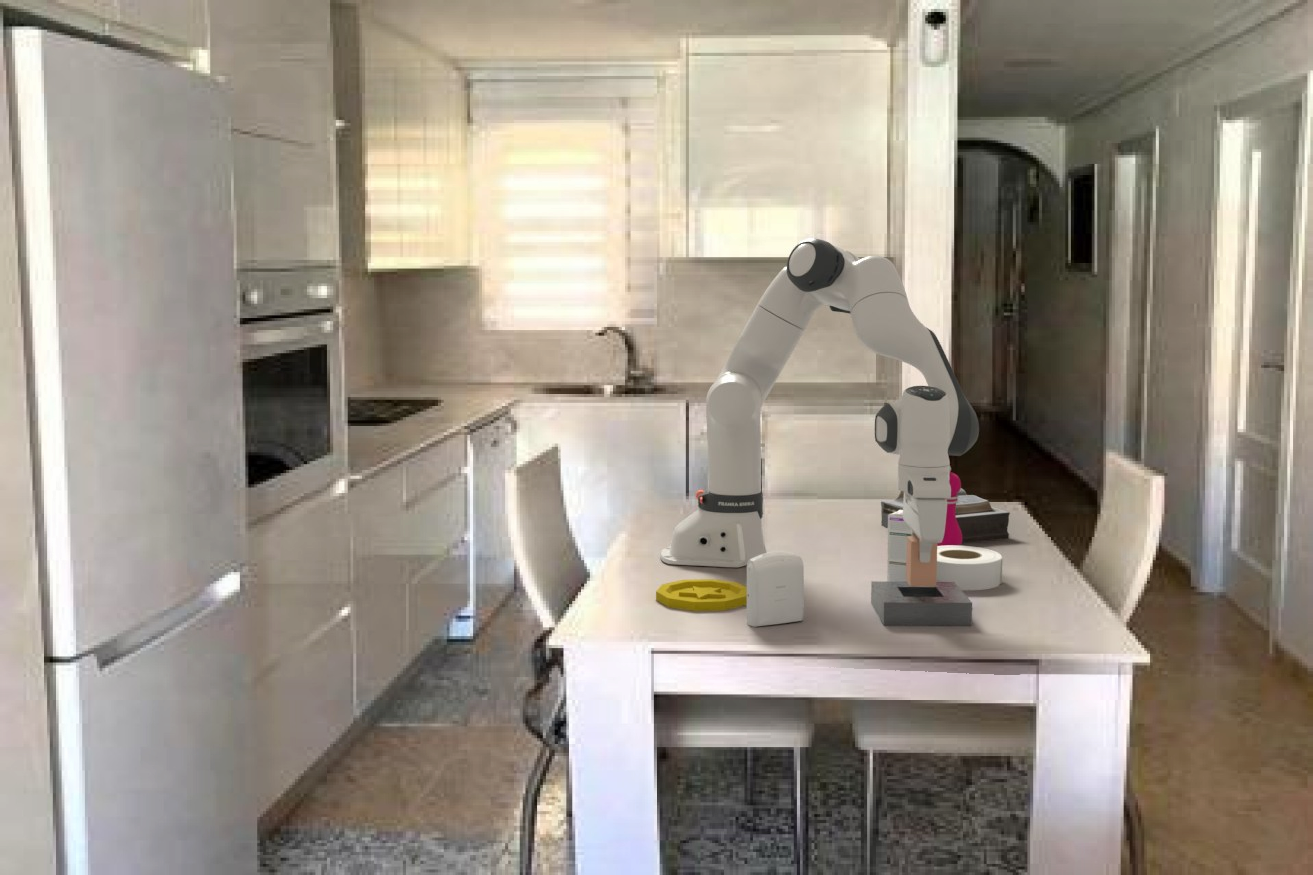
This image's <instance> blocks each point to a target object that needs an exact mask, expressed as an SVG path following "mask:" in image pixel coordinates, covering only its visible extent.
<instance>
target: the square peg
mask: <svg viewBox="0 0 1313 875" xmlns="http://www.w3.org/2000/svg"><path fill="white" fill-rule="evenodd" d="M919 550H920V543H919V538H918V537H917V536H907V557H906V581H907V582H908V584H909V585H910V586H936V575H937V543H933V545H932V549H931V553H930V562H928V563H922V562H920V560H919Z"/></svg>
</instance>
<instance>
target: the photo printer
mask: <svg viewBox="0 0 1313 875" xmlns="http://www.w3.org/2000/svg"><path fill="white" fill-rule="evenodd" d="M804 568H805V567H804V561H803V558H802V557H801V555H800V554H799V555H798V554H797V553H795V552H790V551H781V550H780V551H779V550H778V551H769V552H767V553H764V554H761V555H758V556H756V557H754V558H752V559H750V560H749V561H748V563H747V565H746V587H747V604H746V620H747V621H746V622H747V624H748V626H751V627H753V628H755V627H757V628H758V627H763V626H770V625H771V626H772V625H781V624H787V623H794V622H795V623H796V622H802V621H803V620H804V601H805V600H804V597H805V596H804V592H805V591H804V590H805V589H804V588H805V587H804V586H805V584H804V583H805V582H804V580H805V576H804V573H805V572H804V571H805V570H804Z"/></svg>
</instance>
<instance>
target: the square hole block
mask: <svg viewBox="0 0 1313 875" xmlns="http://www.w3.org/2000/svg"><path fill="white" fill-rule="evenodd" d="M870 583H871V592H870V603H871V605H872V607H873V609H874V611H875V613H876V614H877V616H878V618H879V620H880V622H881V623H882V626H940V627H941V626H949V627H950V626H951V627H952V626H953V627H954V626H956V627H957V626H958V627H959V626H960V627H962V626H963V627H964V626H965V627H966V626H968V627H971V626H972V624H973V622H972V621H973V620H972V619H973V618H972V617H973V602H972V601H971V600H970V599H969V598H968V596H967V595H966V594H965V592H964V591H963V590H961V589H960V588H959V587H958V586H957V585H956V583H955V582H936V586H910V585H909V584H908V582H887V581H877V580H876V581H871V582H870Z"/></svg>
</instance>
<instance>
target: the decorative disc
mask: <svg viewBox="0 0 1313 875" xmlns="http://www.w3.org/2000/svg"><path fill="white" fill-rule="evenodd" d="M655 600H656V601H657V602H658V603H661V604H662V605H663V606H665V607H667V608H673V609H677V610H679V609H680V610H686V611H692V612H705V611H706V612H708V611H710V612H711V611H713V612H715V611H727V610H731V609H735V608H736V609H737V608H739V607H744V606H747V586H745V585H744V584H741V583H739V582H736V581H735V582H734V581H728V580H721V579H715V578H714V579H713V578H706V579H705V578H704V579H703V578H701V579H696V578H695V579H680V580H675V581H671V582H667V583H662V584H661V585H659V587H658V589H656V590H655Z"/></svg>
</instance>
